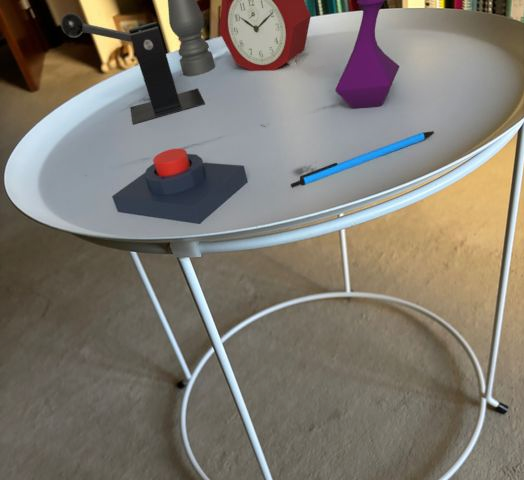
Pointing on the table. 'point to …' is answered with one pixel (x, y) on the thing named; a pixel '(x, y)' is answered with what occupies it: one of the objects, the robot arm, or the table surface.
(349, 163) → the pen
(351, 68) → the purple vase
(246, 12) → the alarm clock
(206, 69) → the candle holder
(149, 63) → the bracket
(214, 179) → the button box
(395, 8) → the table surface
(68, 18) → the lever
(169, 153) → the button
